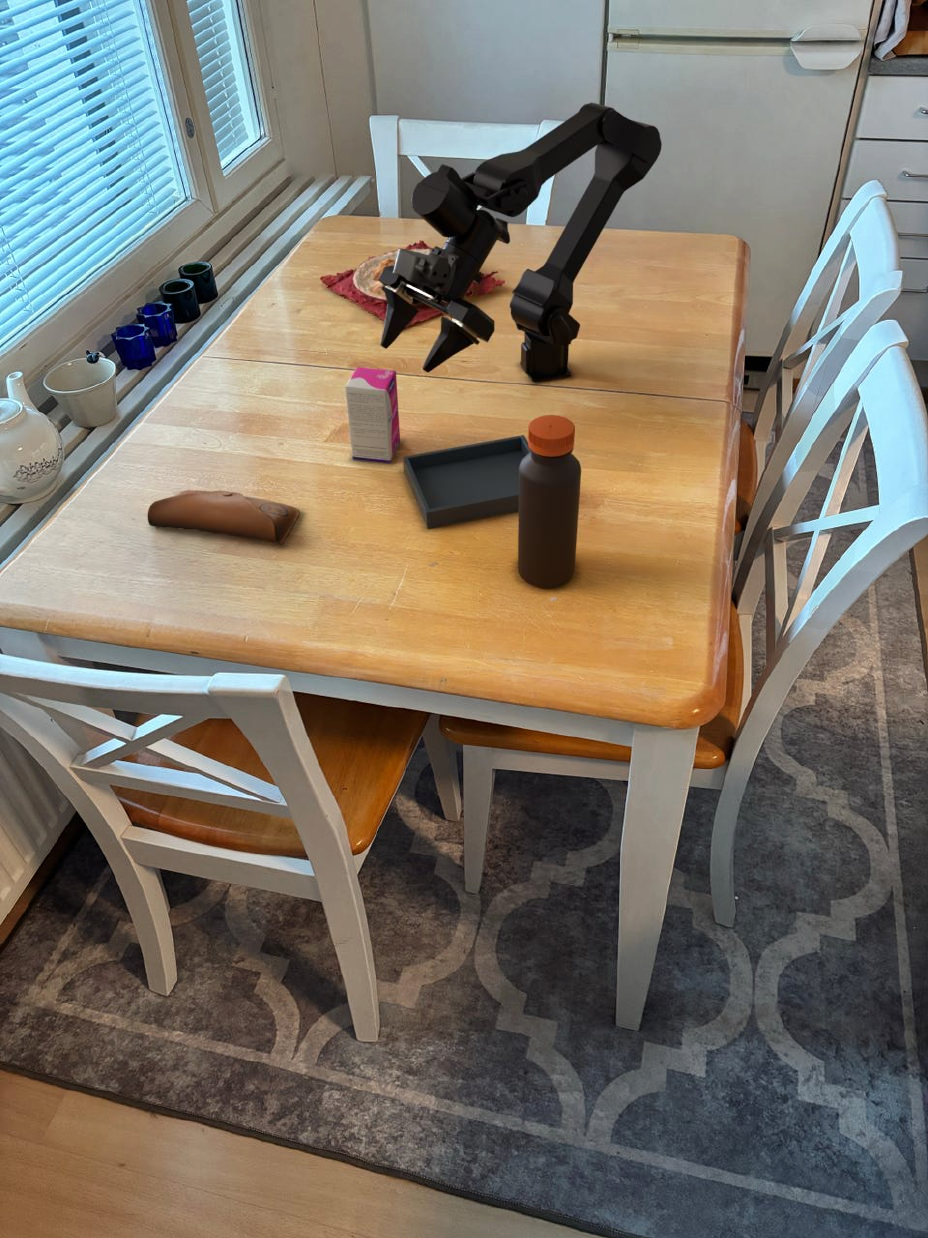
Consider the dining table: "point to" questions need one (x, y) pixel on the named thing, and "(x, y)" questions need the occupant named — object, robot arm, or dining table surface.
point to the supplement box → (373, 414)
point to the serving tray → (467, 480)
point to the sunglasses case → (225, 515)
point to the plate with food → (368, 289)
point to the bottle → (548, 503)
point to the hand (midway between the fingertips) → (403, 358)
